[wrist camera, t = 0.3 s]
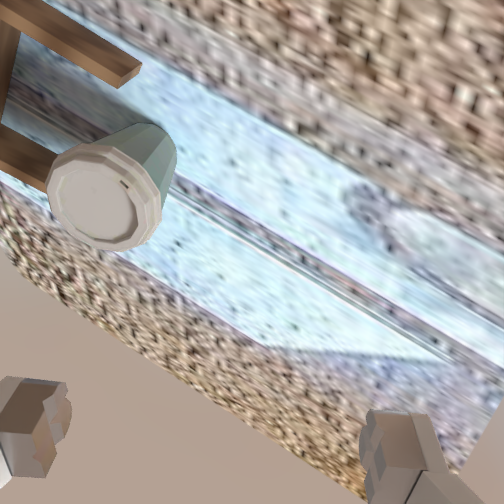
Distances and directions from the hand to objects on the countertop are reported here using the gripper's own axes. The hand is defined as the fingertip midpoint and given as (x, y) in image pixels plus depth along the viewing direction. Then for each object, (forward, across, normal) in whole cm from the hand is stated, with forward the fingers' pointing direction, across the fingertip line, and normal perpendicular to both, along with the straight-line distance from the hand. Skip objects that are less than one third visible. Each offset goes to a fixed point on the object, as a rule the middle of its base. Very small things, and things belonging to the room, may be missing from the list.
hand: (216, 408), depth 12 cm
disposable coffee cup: (+40, +12, +7) cm, 43 cm away
